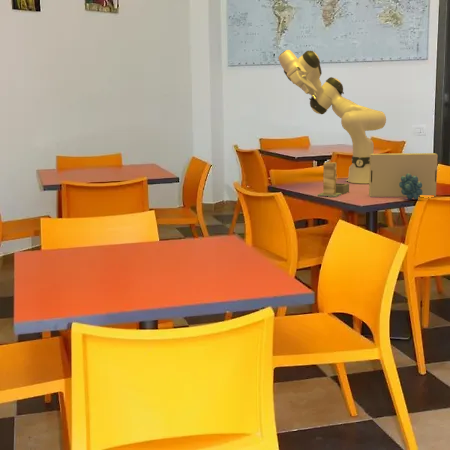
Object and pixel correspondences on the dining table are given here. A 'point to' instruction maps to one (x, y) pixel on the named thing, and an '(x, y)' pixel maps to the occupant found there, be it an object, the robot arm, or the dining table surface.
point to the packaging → (401, 173)
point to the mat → (330, 195)
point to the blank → (329, 178)
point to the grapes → (410, 186)
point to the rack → (342, 188)
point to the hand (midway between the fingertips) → (311, 95)
